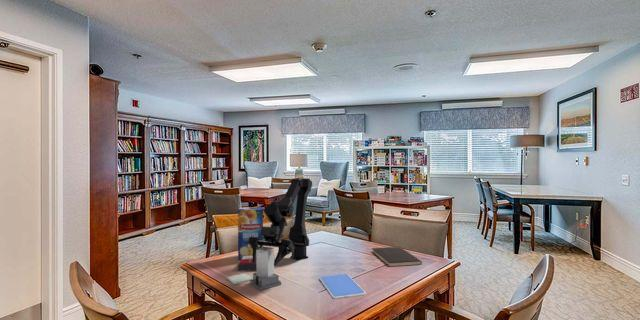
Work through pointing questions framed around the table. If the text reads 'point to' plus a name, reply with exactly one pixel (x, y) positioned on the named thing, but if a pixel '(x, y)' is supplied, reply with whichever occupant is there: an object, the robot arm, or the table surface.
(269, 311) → the table surface
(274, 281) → the vise
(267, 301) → the table surface
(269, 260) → the grey stepped block
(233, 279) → the pad
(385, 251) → the hardcover book
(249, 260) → the calculator
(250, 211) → the blue food box
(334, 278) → the tablet computer
